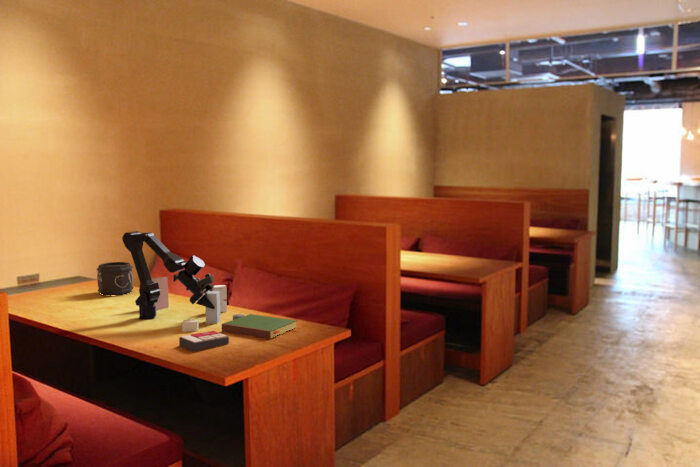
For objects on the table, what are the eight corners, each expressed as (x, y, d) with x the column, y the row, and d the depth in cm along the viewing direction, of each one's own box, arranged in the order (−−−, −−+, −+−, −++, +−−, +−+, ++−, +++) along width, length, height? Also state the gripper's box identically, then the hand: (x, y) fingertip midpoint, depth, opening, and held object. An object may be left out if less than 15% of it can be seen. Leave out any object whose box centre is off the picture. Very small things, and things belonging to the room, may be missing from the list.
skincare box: (214, 313, 279) (214, 287, 278) (211, 311, 283) (210, 285, 281) (227, 311, 282) (226, 285, 281) (223, 309, 286) (223, 284, 285)
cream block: (182, 331, 249) (182, 322, 248) (184, 329, 253) (183, 319, 252) (197, 331, 249) (197, 321, 249) (198, 328, 253) (198, 319, 253)
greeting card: (168, 307, 292) (167, 276, 290) (168, 310, 285) (167, 279, 283) (143, 309, 289) (142, 277, 287) (143, 312, 282) (141, 280, 280)
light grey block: (205, 323, 261) (204, 293, 260) (209, 320, 266) (208, 291, 265) (217, 323, 261) (216, 293, 260) (220, 320, 266) (219, 291, 265)
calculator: (229, 335, 231) (193, 341, 220) (229, 346, 231) (193, 352, 221) (213, 329, 239) (178, 335, 228) (213, 340, 239) (178, 346, 228)
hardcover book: (221, 332, 248) (221, 323, 248) (250, 322, 264) (250, 314, 264) (271, 341, 236) (271, 331, 236) (298, 329, 252) (298, 320, 252)
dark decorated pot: (140, 290, 333) (139, 261, 331) (121, 297, 315) (120, 267, 314) (111, 289, 337) (110, 260, 335) (91, 295, 319) (89, 266, 318)
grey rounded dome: (232, 324, 260) (232, 317, 260) (233, 321, 265) (233, 314, 265) (244, 323, 261) (244, 316, 261) (244, 320, 266) (244, 313, 266)
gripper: (196, 272, 252) (223, 298, 253) (208, 265, 271) (233, 289, 271) (178, 291, 253) (205, 317, 254) (191, 282, 272) (216, 306, 273)
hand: (216, 306), depth 263 cm, fingers open, 6 cm apart
